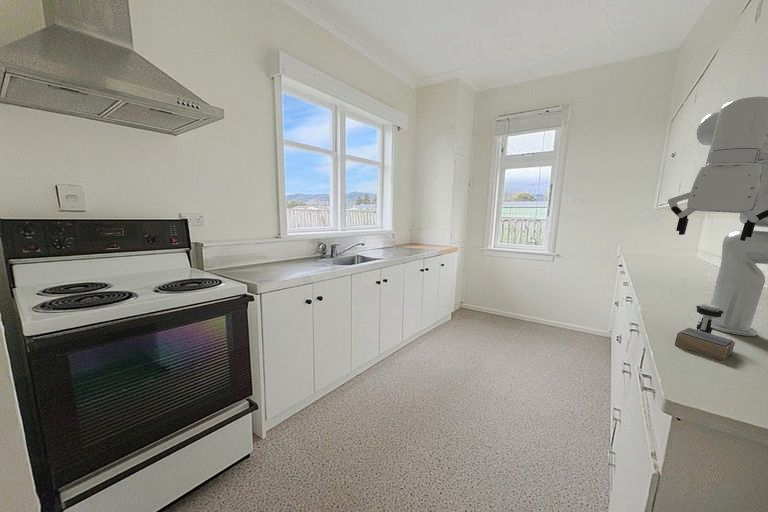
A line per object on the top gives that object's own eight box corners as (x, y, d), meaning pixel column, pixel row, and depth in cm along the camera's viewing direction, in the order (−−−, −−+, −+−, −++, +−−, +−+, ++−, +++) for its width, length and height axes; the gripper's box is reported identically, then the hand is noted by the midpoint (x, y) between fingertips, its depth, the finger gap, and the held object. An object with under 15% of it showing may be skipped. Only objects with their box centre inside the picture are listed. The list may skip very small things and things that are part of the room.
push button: (711, 345, 82) (721, 310, 80) (684, 337, 86) (693, 304, 84) (717, 340, 85) (726, 307, 83) (691, 332, 90) (700, 301, 88)
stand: (684, 339, 84) (687, 326, 84) (731, 354, 77) (735, 340, 76) (674, 344, 80) (677, 331, 80) (722, 361, 73) (727, 346, 72)
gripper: (796, 160, 60) (770, 242, 64) (680, 164, 74) (663, 232, 77) (799, 154, 56) (771, 243, 59) (674, 160, 69) (657, 233, 72)
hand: (710, 237), depth 68 cm, fingers open, 9 cm apart
